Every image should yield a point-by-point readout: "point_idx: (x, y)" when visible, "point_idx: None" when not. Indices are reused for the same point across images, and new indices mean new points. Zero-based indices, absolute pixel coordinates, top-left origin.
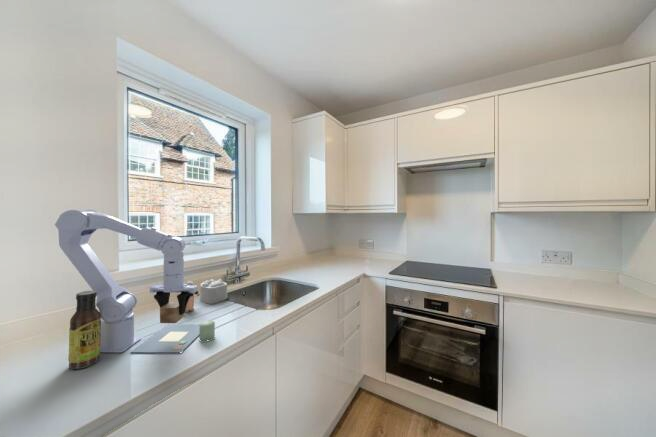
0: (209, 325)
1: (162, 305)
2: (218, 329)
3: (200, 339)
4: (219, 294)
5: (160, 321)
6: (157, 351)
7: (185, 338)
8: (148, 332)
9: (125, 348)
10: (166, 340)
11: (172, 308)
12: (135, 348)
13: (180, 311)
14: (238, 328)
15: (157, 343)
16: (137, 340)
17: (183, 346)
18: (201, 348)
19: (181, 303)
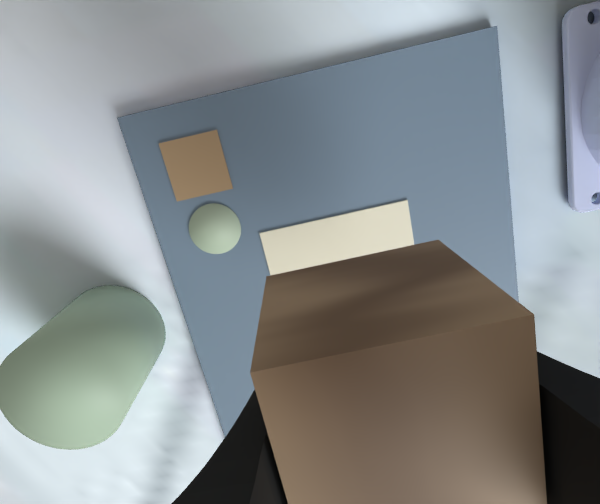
0: (9, 374)
1: (553, 394)
2: (134, 440)
3: (122, 292)
4: None
5: (439, 246)
6: (298, 82)
7: (245, 283)
8: (590, 301)
9: (572, 50)
10: (357, 226)
11: (305, 357)
12: (500, 78)
13: (256, 398)
14: (13, 479)
15: (392, 178)
16: (572, 172)
17: (168, 188)
18: (40, 209)
19: (202, 491)
